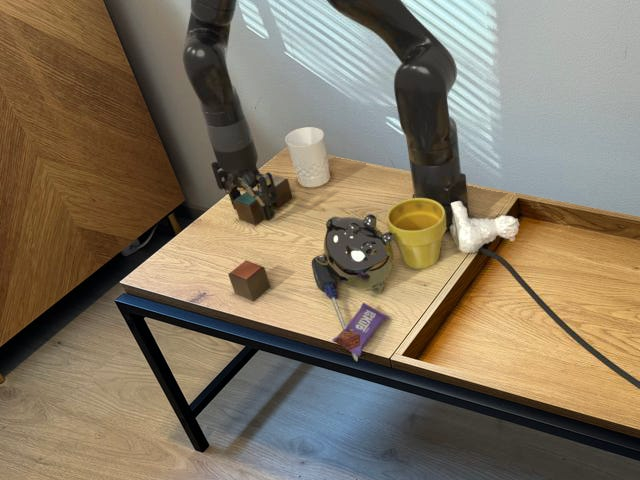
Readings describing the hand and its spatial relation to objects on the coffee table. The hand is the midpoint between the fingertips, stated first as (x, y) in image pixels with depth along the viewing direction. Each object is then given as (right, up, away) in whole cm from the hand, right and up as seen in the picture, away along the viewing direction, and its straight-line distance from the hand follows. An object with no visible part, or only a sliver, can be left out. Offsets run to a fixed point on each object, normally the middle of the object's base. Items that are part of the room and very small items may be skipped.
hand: (254, 213), depth 160 cm
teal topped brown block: (0, -1, +1) cm, 1 cm away
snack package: (+23, -22, -29) cm, 43 cm away
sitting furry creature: (+40, -6, -13) cm, 43 cm away
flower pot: (+34, -10, -13) cm, 38 cm away
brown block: (+3, +3, +4) cm, 7 cm away
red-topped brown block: (+4, -17, -16) cm, 24 cm away
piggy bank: (+27, -6, -24) cm, 37 cm away
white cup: (+10, +9, +10) cm, 17 cm away
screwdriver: (+20, -21, -23) cm, 37 cm away
